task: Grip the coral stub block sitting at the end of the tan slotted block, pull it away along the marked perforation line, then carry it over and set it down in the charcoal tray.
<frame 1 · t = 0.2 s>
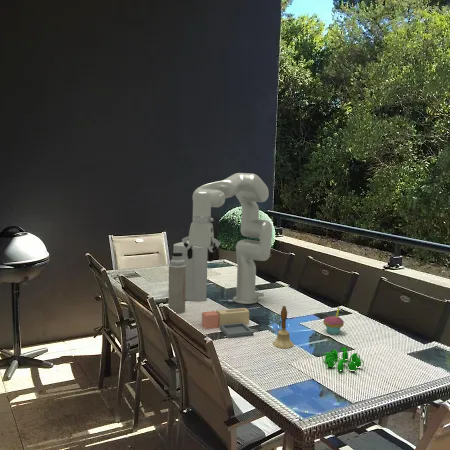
hand: (200, 259, 216), 30 cm above the table, tool pointing down, fingers open, 9 cm apart
cupcake: (332, 332, 218), on the table
thermos bottle: (176, 311, 241), on the table
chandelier: (342, 366, 185), on the table
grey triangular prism: (187, 297, 263), on the table
tan slotted block: (232, 323, 225), on the table
stub: (210, 326, 222), on the table
tray: (236, 332, 215), on the table
hand bell: (283, 345, 203), on the table
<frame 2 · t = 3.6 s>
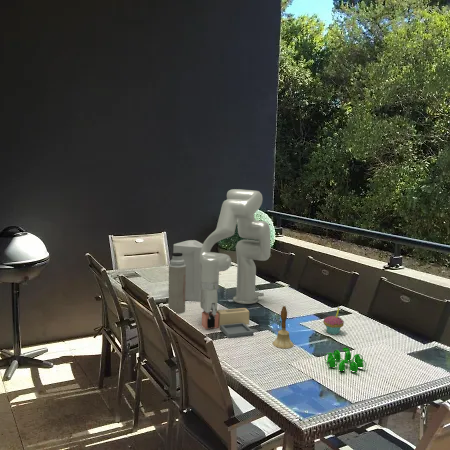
hand: (208, 324, 221), 1 cm above the table, tool pointing down, fingers closed on stub, 5 cm apart
stub: (210, 326, 222), on the table, touching gripper
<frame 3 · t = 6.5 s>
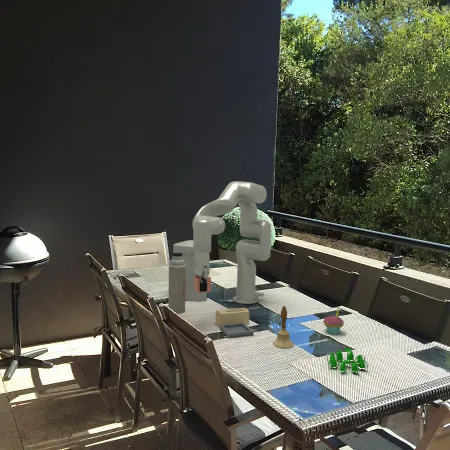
hand: (201, 289, 217), 17 cm above the table, tool pointing down, fingers closed on stub, 5 cm apart
stub: (202, 290, 217), point 17 cm above the table, touching gripper
when the fingers open (3 cm above the table, at t = 9.7 s): stub drops 2 cm, resting on tray.
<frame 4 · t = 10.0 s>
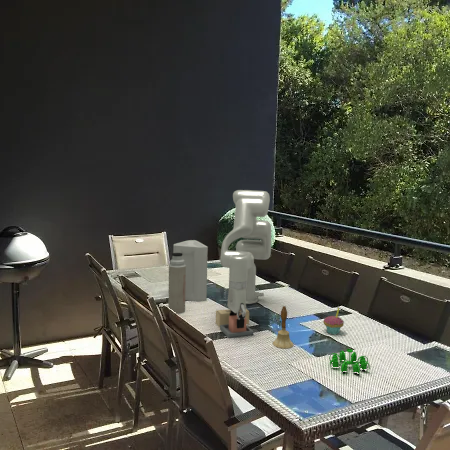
hand: (236, 324, 215), 4 cm above the table, tool pointing down, fingers open, 7 cm apart
stub: (237, 330, 215), point 1 cm above the table, touching tray
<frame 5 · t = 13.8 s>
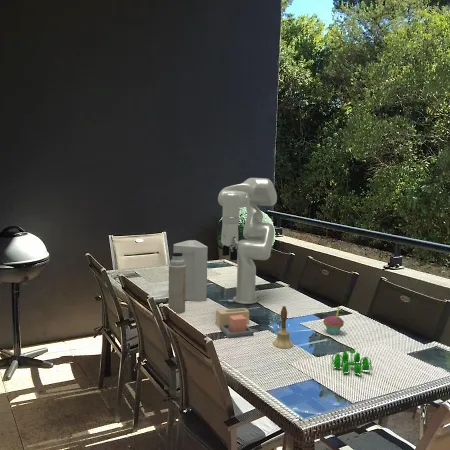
hand: (229, 257, 229), 28 cm above the table, tool pointing down, fingers open, 9 cm apart
at the end: stub inside the target area on the tray (0.5 cm from its centre), point 0.6 cm above the tray's base; stub touching tray; the gripper is holding nothing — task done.
